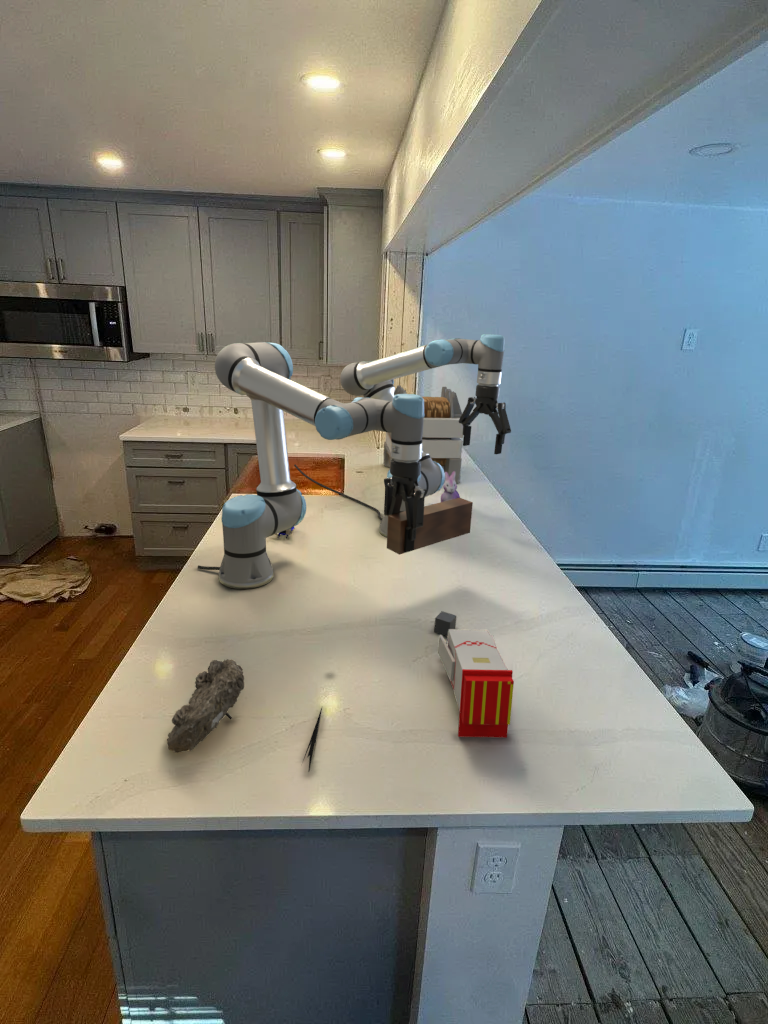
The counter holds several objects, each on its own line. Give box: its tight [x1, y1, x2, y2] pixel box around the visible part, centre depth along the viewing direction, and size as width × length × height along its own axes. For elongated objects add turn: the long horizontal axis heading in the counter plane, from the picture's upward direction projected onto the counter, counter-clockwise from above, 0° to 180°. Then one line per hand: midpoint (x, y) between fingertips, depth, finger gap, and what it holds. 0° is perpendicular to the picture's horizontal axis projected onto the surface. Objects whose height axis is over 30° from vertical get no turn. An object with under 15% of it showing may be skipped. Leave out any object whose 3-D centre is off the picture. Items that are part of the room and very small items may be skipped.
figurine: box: [440, 471, 461, 502], centre depth 226 cm, size 9×10×15 cm
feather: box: [301, 673, 332, 771], centre depth 108 cm, size 2×28×2 cm
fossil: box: [166, 658, 245, 754], centre depth 106 cm, size 22×10×15 cm
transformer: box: [383, 384, 464, 484], centre depth 268 cm, size 34×33×41 cm
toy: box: [437, 628, 515, 738], centre depth 117 cm, size 12×13×30 cm
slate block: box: [433, 610, 458, 637], centre depth 140 cm, size 4×4×4 cm
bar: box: [386, 497, 474, 555], centre depth 150 cm, size 26×5×9 cm, turn 129°
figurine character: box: [274, 526, 296, 540], centre depth 194 cm, size 7×8×15 cm
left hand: (401, 547), depth 146 cm, fingers closed on bar, 5 cm apart
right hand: (481, 449), depth 189 cm, fingers open, 13 cm apart
